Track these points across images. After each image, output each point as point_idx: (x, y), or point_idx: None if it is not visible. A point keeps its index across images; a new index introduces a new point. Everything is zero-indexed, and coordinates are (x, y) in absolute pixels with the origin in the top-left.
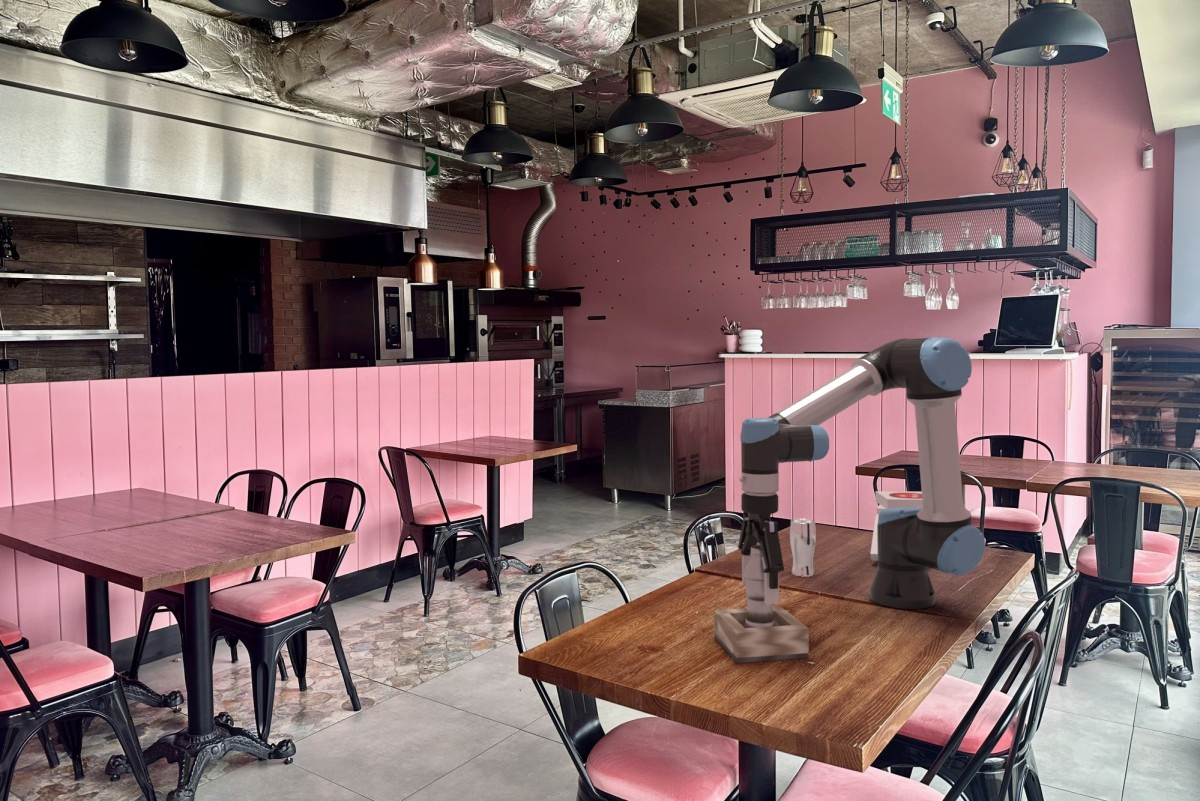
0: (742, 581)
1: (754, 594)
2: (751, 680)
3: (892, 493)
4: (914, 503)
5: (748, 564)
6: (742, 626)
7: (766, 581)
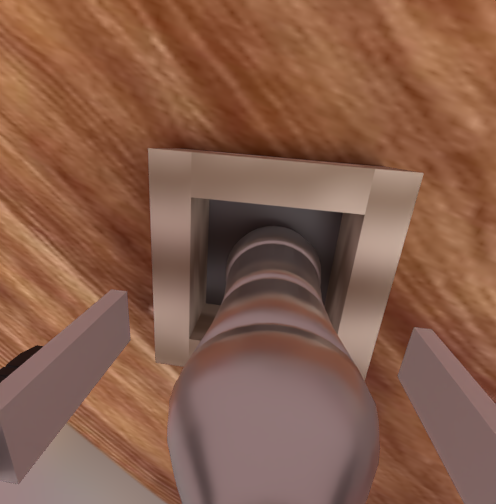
0: (436, 341)
1: (229, 302)
2: (70, 136)
3: None
4: None
5: (282, 418)
6: (210, 197)
7: (28, 360)
